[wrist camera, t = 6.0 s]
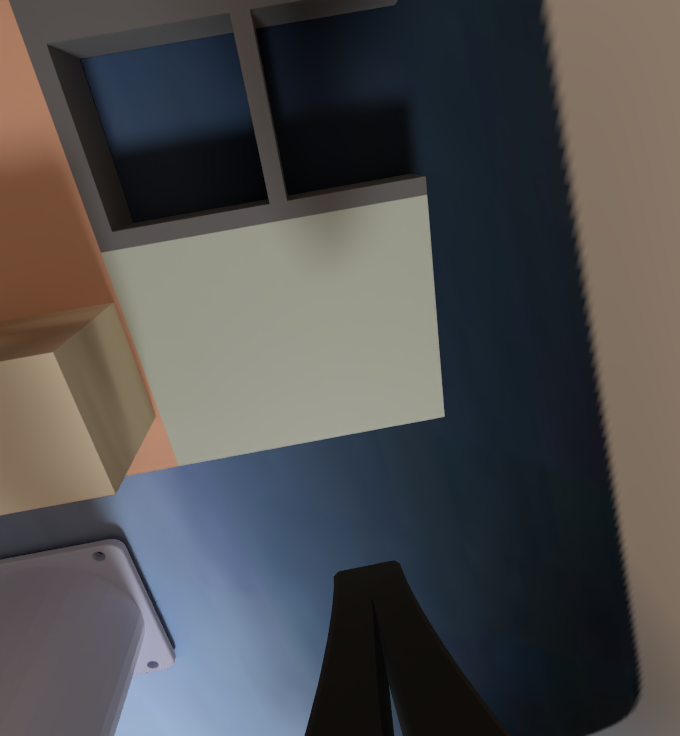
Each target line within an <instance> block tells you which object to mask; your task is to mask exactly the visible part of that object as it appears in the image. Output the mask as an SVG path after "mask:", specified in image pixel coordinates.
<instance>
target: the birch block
mask: <svg viewBox="0 0 680 736" xmlns="http://www.w3.org/2000/svg"><path fill="white" fill-rule="evenodd" d="M155 418H156V415H155V413H154V410H153V407H152V404H151V402H150V399H149V396H148V393H147V391H146V388H145V385H144V383H143V380H142V377H141V374H140V372H139V369H138V366H137V363H136V361H135V358H134V355H133V352H132V350H131V347H130V344H129V341H128V339H127V336H126V333H125V331H124V328H123V325H122V322H121V320H120V317H119V314H118V311H117V309H116V306H115V303H114V302H111V303H105V304H100V305H94V306H88V307H82V308H77V309H71V310H65V311H60V312H54V313H48V314H43V315H37V316H31V317H26V318H20V319H14V320H9V321H3V322H0V515H5V514H10V513H16V512H21V511H27V510H32V509H38V508H43V507H49V506H54V505H60V504H65V503H70V502H76V501H81V500H87V499H92V498H98V497H103V496H109V495H114V494H116V492H117V491H118V489H119V487H120V485H121V483H122V481H123V479H124V477H125V475H126V473H127V471H128V469H129V468H130V466H131V464H132V462H133V460H134V458H135V456H136V454H137V452H138V450H139V448H140V446H141V445H142V443H143V441H144V439H145V437H146V435H147V433H148V431H149V429H150V427H151V425H152V423H153V422H154V420H155Z"/></svg>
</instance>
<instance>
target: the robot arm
mask: <svg viewBox="0 0 680 736" xmlns="http://www.w3.org/2000/svg"><path fill="white" fill-rule="evenodd" d="M98 552H102V553H104V554H100V553H98ZM175 658H176V655H175V652H174V650H173V648H172V646H171V643H170V641H169V639H168V637H167V635H166V633H165V630H164V628H163V626H162V624H161V622H160V620H159V617H158V615H157V613H156V611H155V609H154V607H153V604H152V602H151V600H150V598H149V596H148V594H147V591H146V589H145V587H144V585H143V583H142V581H141V578H140V576H139V574H138V572H137V570H136V567H135V565H134V563H133V561H132V559H131V557H130V554H129V552H128V550H127V548H126V546H125V544H124V543H123V542H121V541H120V540H117V539H107V540H102V541H97V542H92V543H86V544H81V545H76V546H70V547H65V548H60V549H54V550H49V551H44V552H38V553H33V554H28V555H22V556H17V557H12V558H7V559H1V560H0V736H114V735H115V732H116V728H117V725H118V722H119V719H120V715H121V712H122V709H123V705H124V702H125V699H126V696H127V692H128V689H129V686H130V683H131V679H132V676H133V675H137V674H142V673H148V672H153V671H158V670H163V669H167V668H170V667H171V666H173V664H174V662H175ZM389 686H390V690H391V694H392V697H393V701H394V705H395V708H396V712H397V716H398V719H399V723H400V727H401V730H402V734H403V736H511V735H510V734H509V732H508V731H507V730H506V729H505V727H504V726H503V725H502V724H501V722H500V721H499V720H498V719H497V717H496V716H495V715H494V714H493V712H492V711H491V710H490V708H489V707H488V706H487V705H486V703H485V702H484V701H483V699H482V698H481V697H480V695H479V694H478V693H477V691H476V690H475V688H474V687H473V686H472V684H471V683H470V682H469V680H468V679H467V678H466V676H465V675H464V673H463V672H462V671H461V669H460V668H459V666H458V665H457V663H456V662H455V661H454V659H453V658H452V656H451V655H450V653H449V652H448V650H447V649H446V647H445V645H444V644H443V642H442V641H441V639H440V638H439V636H438V635H437V633H436V632H435V630H434V629H433V627H432V625H431V624H430V622H429V620H428V619H427V617H426V616H425V614H424V612H423V610H422V609H421V607H420V605H419V603H418V601H417V600H416V598H415V596H414V594H413V592H412V590H411V588H410V586H409V584H408V582H407V580H406V578H405V576H404V573H403V571H402V568H401V566H400V563H398V562H396V561H389V562H384V563H379V564H374V565H369V566H364V567H359V568H354V569H349V570H344V571H339V572H338V573H337V574H336V575H335V576H334V593H333V605H332V613H331V620H330V627H329V633H328V639H327V644H326V649H325V654H324V659H323V664H322V669H321V674H320V678H319V683H318V687H317V690H316V694H315V698H314V702H313V706H312V710H311V714H310V718H309V722H308V725H307V729H306V733H305V736H394V729H393V719H392V710H391V701H390V691H389Z"/></svg>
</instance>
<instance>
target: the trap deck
mask: <svg viewBox="0 0 680 736" xmlns="http://www.w3.org/2000/svg"><path fill="white" fill-rule="evenodd" d="M397 1H398V0H0V322H3V321H9V320H14V319H20V318H26V317H31V316H37V315H43V314H48V313H54V312H60V311H65V310H71V309H77V308H82V307H88V306H94V305H100V304H105V303H111V302H114V303H115V306H116V309H117V311H118V314H119V317H120V320H121V322H122V325H123V328H124V331H125V333H126V336H127V339H128V341H129V344H130V347H131V350H132V352H133V355H134V358H135V361H136V363H137V366H138V369H139V372H140V374H141V377H142V380H143V383H144V385H145V388H146V391H147V393H148V396H149V399H150V402H151V404H152V407H153V410H154V413H155V415H156V418H155V420H154V422H153V423H152V425H151V427H150V429H149V431H148V433H147V435H146V437H145V439H144V441H143V443H142V445H141V446H140V448H139V450H138V452H137V454H136V456H135V458H134V460H133V462H132V464H131V466H130V468H129V469H128V471H127V473H126V475H125V476H128V475H133V474H139V473H144V472H150V471H155V470H160V469H166V468H171V467H176V466H182V465H187V464H193V463H198V462H203V461H209V460H214V459H219V458H225V457H230V456H236V455H241V454H246V453H252V452H257V451H262V450H268V449H273V448H279V447H284V446H289V445H295V444H300V443H305V442H311V441H316V440H322V439H327V438H332V437H338V436H343V435H348V434H354V433H359V432H365V431H370V430H375V429H381V428H386V427H391V426H397V425H402V424H408V423H413V422H418V421H424V420H429V419H434V418H440V417H444V404H443V391H442V378H441V366H440V353H439V340H438V327H437V315H436V302H435V289H434V277H433V264H432V251H431V238H430V226H429V213H428V200H427V188H426V176H420V175H414V174H406V175H401V176H395V177H390V178H384V179H378V180H373V181H367V182H361V183H356V184H350V185H344V186H339V187H333V188H327V189H322V190H316V191H310V192H305V193H299V194H293V195H288V194H287V189H286V184H285V179H284V173H283V168H282V163H281V158H280V153H279V148H278V142H277V137H276V132H275V127H274V122H273V117H272V111H271V106H270V101H269V96H268V91H267V86H266V80H265V75H264V70H263V65H262V60H261V55H260V50H259V44H258V39H257V34H256V29H257V28H263V27H269V26H275V25H281V24H287V23H293V22H298V21H304V20H310V19H316V18H322V17H328V16H334V15H339V14H345V13H351V12H357V11H363V10H369V9H375V8H380V7H386V6H392V5H395V4H396V2H397ZM228 33H234V36H235V41H236V46H237V51H238V55H239V60H240V65H241V70H242V74H243V79H244V84H245V89H246V93H247V98H248V103H249V108H250V113H251V117H252V122H253V127H254V132H255V136H256V141H257V146H258V151H259V155H260V160H261V165H262V170H263V174H264V179H265V184H266V189H267V193H268V198H269V199H265V200H260V201H254V202H248V203H243V204H237V205H231V206H226V207H220V208H214V209H209V210H203V211H197V212H192V213H186V214H180V215H175V216H169V217H164V218H158V219H152V220H147V221H141V222H135V223H133V220H132V217H131V214H130V211H129V208H128V204H127V201H126V198H125V195H124V192H123V189H122V186H121V183H120V180H119V177H118V174H117V171H116V168H115V165H114V162H113V159H112V156H111V153H110V150H109V147H108V144H107V141H106V138H105V134H104V131H103V128H102V125H101V122H100V119H99V116H98V113H97V110H96V107H95V104H94V101H93V98H92V95H91V92H90V89H89V86H88V83H87V80H86V77H85V74H84V71H83V68H82V64H81V61H80V59H82V58H88V57H94V56H99V55H105V54H111V53H117V52H123V51H129V50H135V49H140V48H146V47H152V46H158V45H164V44H170V43H175V42H181V41H187V40H193V39H199V38H205V37H211V36H216V35H222V34H228Z"/></svg>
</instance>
